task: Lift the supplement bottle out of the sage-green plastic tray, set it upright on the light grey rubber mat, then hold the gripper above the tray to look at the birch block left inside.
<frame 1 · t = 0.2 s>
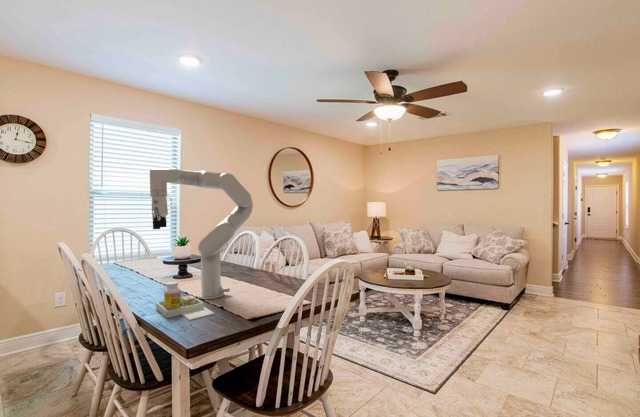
hand: (159, 228, 168), 36 cm above the table, tool pointing down, fingers open, 9 cm apart
birch block: (188, 307, 158), resting in tray
mat: (197, 313, 149), on the table
supplement bottle: (173, 311, 153), resting in tray
tray: (179, 309, 155), on the table
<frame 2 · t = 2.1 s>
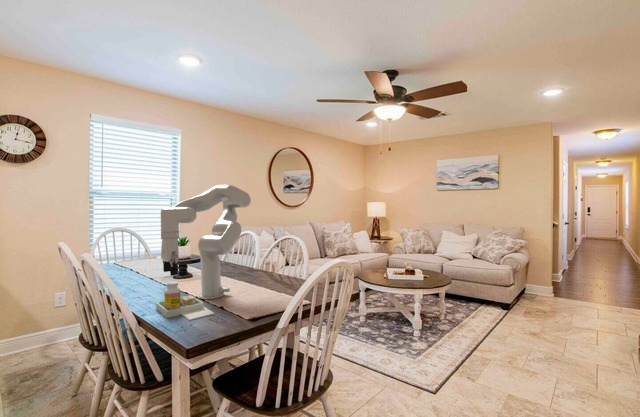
hand: (170, 273, 152), 17 cm above the table, tool pointing down, fingers open, 9 cm apart
nothing on the table moved.
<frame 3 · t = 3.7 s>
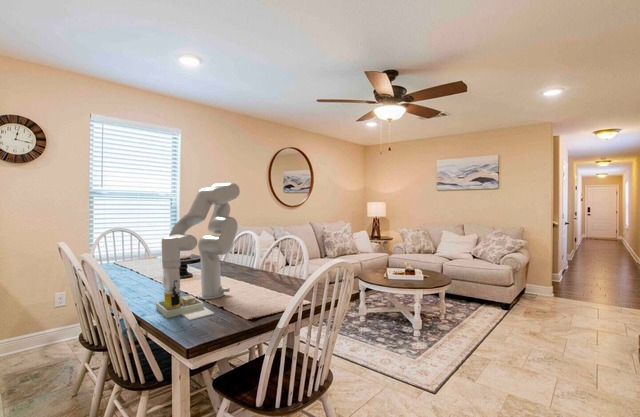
hand: (172, 302, 153), 4 cm above the table, tool pointing down, fingers closed on supplement bottle, 6 cm apart
supplement bottle: (173, 311, 153), resting in tray, touching gripper
everything else where it was.
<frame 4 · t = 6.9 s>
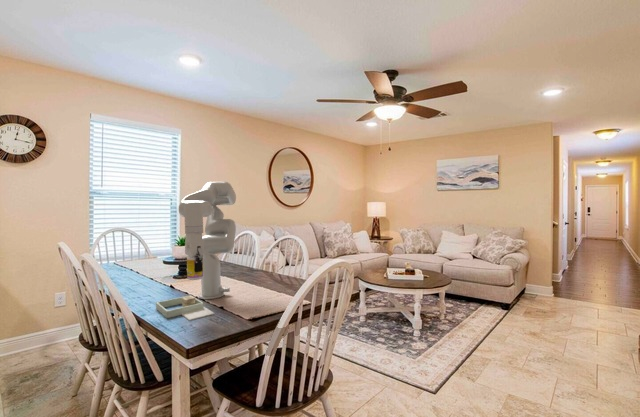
hand: (195, 270, 148), 20 cm above the table, tool pointing down, fingers closed on supplement bottle, 6 cm apart
supplement bottle: (195, 278, 148), point 16 cm above the table, touching gripper
everything else where it was.
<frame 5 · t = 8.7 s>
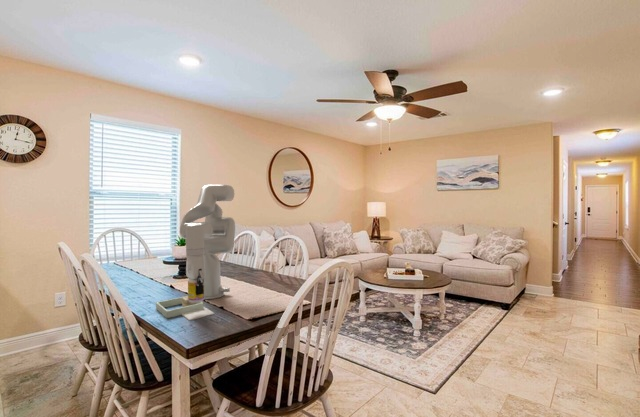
hand: (196, 292, 148), 10 cm above the table, tool pointing down, fingers closed on supplement bottle, 6 cm apart
supplement bottle: (196, 301, 148), point 6 cm above the table, touching gripper
everything else where it was.
when the fingers open (6 cm above the table, at t = 10.1 s): supplement bottle drops 1 cm, resting on mat.
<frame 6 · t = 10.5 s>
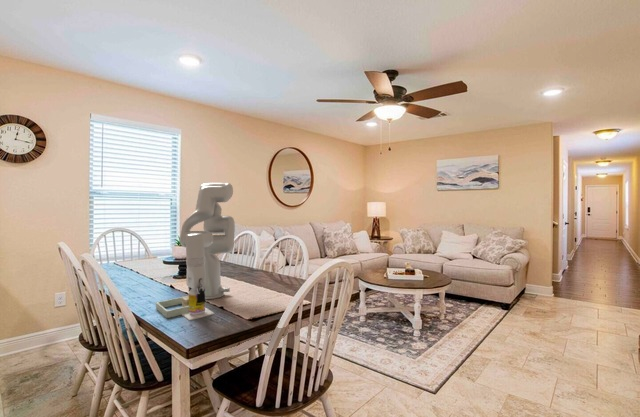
hand: (196, 299, 148), 6 cm above the table, tool pointing down, fingers open, 9 cm apart
supplement bottle: (197, 313, 149), resting on mat
everything else where it was.
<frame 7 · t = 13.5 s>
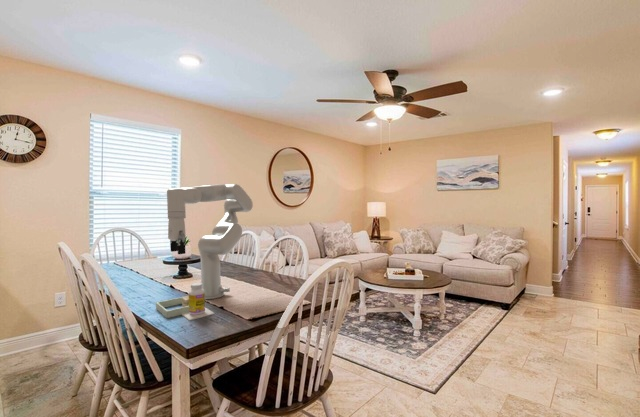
hand: (177, 252, 154), 26 cm above the table, tool pointing down, fingers open, 9 cm apart
nothing on the table moved.
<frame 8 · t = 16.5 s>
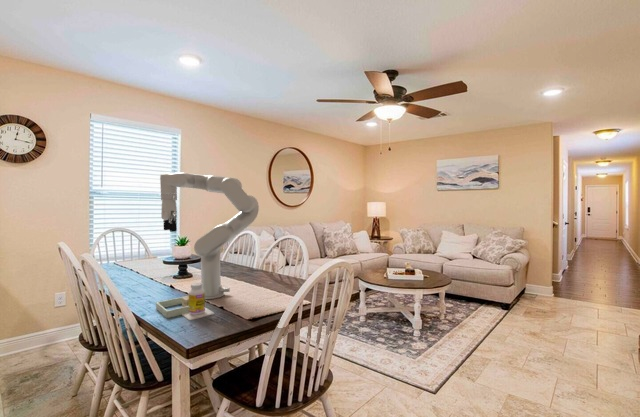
hand: (170, 230, 173), 34 cm above the table, tool pointing down, fingers open, 9 cm apart
nothing on the table moved.
at the end: supplement bottle inside the target area on the mat (0.1 cm from its centre), point 0.3 cm above the mat's base; supplement bottle tilted 0°; birch block moved 0.1 cm from its start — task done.
